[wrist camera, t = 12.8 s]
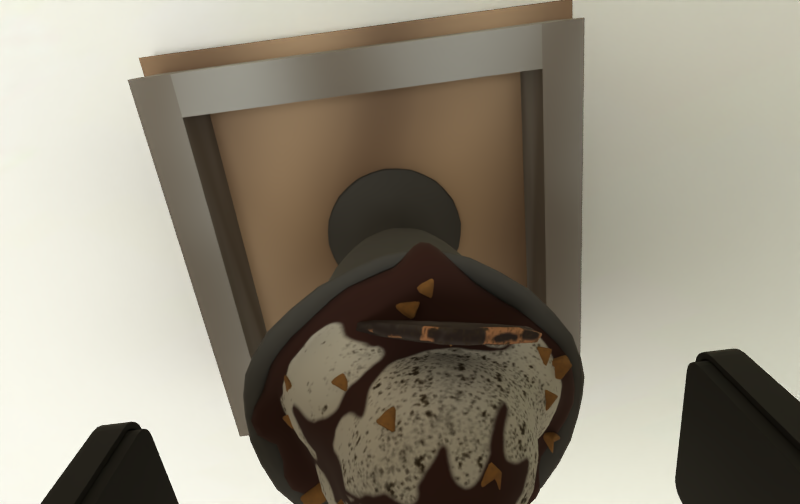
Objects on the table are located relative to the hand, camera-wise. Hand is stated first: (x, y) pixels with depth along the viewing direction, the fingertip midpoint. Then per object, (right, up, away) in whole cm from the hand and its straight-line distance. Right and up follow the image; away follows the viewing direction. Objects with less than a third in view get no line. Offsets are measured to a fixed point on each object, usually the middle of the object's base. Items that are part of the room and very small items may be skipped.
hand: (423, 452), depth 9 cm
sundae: (-1, +4, +11) cm, 11 cm away
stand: (-1, +5, +11) cm, 12 cm away
